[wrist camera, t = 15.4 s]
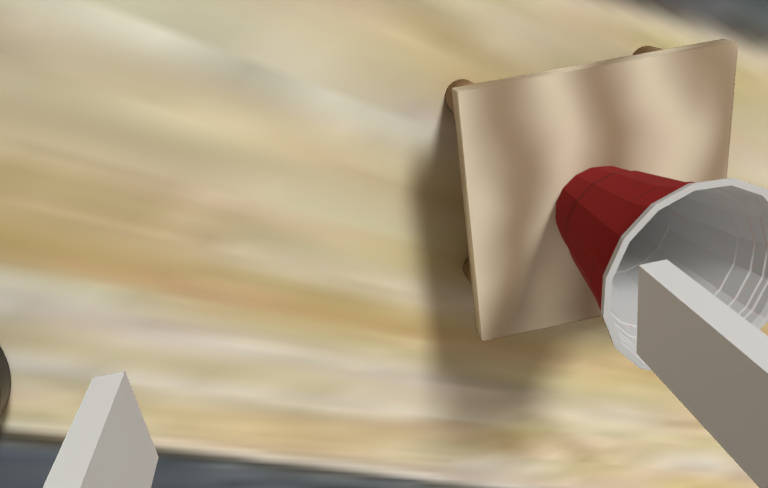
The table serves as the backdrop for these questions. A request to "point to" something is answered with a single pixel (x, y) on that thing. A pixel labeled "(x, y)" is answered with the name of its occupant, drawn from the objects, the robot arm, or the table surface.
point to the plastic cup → (665, 241)
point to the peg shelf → (575, 164)
